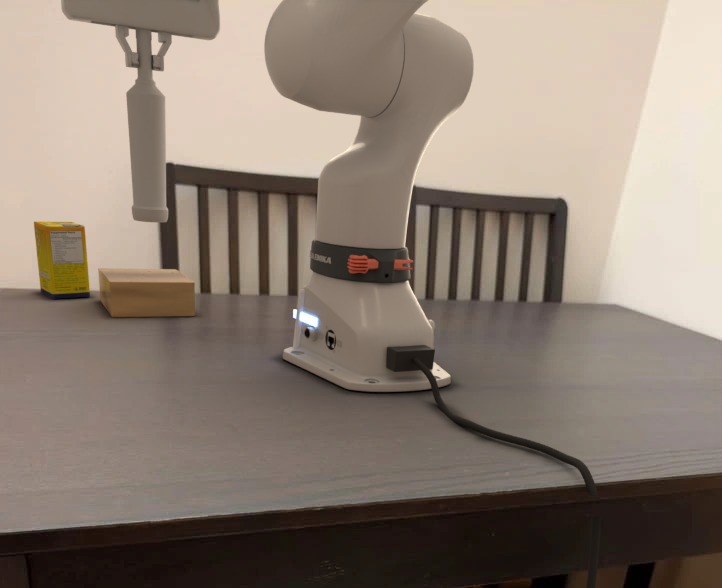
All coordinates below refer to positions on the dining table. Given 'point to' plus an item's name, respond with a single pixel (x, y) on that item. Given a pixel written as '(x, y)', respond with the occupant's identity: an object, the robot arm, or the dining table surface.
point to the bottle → (147, 138)
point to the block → (146, 292)
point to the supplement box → (62, 259)
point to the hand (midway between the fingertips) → (145, 69)
